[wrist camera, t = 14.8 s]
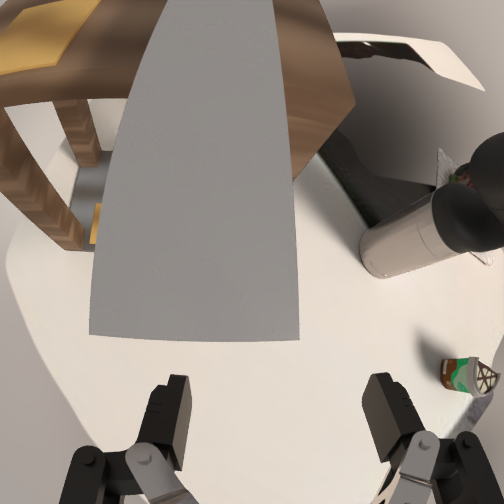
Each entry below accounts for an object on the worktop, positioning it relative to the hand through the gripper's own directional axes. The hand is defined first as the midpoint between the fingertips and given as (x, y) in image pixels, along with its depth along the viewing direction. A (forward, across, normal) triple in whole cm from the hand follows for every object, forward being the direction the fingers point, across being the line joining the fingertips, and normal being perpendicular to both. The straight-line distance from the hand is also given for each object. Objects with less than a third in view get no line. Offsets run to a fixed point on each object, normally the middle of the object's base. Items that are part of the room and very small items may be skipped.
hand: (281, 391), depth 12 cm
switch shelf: (+32, +16, -1) cm, 36 cm away
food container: (+25, -40, +31) cm, 56 cm away
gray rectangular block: (+5, +4, -14) cm, 15 cm away
